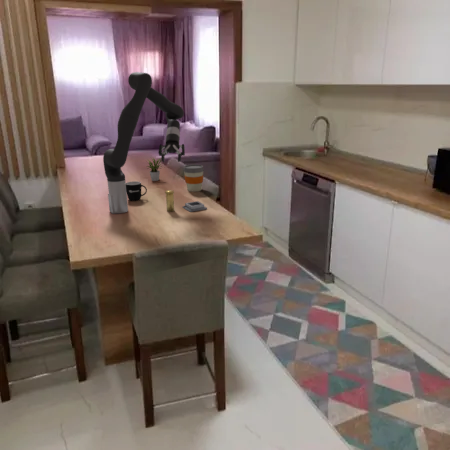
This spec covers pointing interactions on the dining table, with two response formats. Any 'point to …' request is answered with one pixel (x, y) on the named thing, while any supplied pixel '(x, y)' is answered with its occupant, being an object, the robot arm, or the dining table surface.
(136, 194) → the mug
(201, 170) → the reusable coffee cup
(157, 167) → the house plant
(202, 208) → the square tray with knobs
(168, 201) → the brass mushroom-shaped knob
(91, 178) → the dining table surface
